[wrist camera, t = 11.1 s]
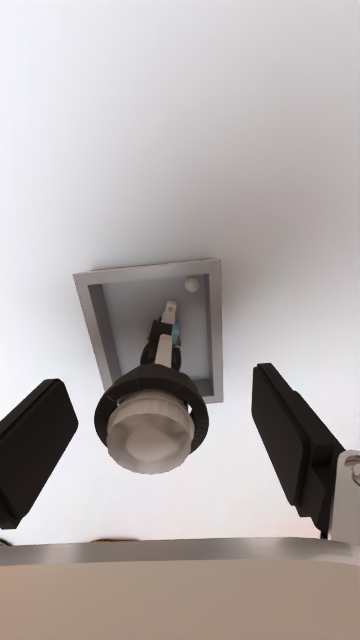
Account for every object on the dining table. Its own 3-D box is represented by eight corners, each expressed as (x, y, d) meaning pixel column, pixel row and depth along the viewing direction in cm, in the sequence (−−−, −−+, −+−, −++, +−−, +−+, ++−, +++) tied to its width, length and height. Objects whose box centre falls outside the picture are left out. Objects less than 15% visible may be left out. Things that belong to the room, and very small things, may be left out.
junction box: (212, 258, 16) (220, 260, 13) (216, 380, 20) (223, 402, 17) (91, 270, 16) (72, 274, 13) (120, 389, 20) (110, 412, 17)
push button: (142, 292, 16) (92, 350, 6) (203, 306, 16) (240, 379, 7) (130, 360, 18) (80, 478, 8) (185, 370, 18) (194, 493, 9)
